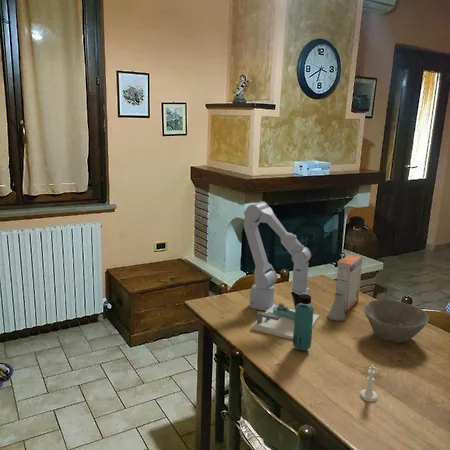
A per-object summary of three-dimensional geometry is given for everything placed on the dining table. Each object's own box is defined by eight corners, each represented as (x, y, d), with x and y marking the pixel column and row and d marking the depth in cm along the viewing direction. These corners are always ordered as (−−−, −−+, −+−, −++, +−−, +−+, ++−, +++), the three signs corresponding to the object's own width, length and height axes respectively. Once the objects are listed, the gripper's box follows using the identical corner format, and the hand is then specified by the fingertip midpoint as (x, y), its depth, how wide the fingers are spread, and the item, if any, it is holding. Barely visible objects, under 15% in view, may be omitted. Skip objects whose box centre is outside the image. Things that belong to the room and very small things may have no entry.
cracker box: (345, 297, 196) (349, 253, 191) (358, 301, 193) (363, 255, 188) (333, 308, 185) (337, 261, 180) (347, 312, 182) (351, 264, 177)
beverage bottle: (312, 346, 155) (316, 293, 150) (309, 356, 149) (313, 300, 144) (293, 343, 157) (297, 290, 152) (290, 352, 151) (293, 297, 146)
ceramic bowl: (426, 330, 169) (429, 306, 166) (424, 359, 148) (428, 332, 146) (365, 318, 177) (368, 295, 175) (356, 344, 157) (359, 318, 155)
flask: (344, 314, 181) (346, 291, 178) (347, 322, 174) (349, 298, 171) (326, 312, 181) (328, 290, 179) (328, 320, 174) (330, 297, 172)
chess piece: (357, 391, 130) (360, 361, 128) (373, 390, 131) (377, 360, 128) (363, 402, 126) (367, 370, 123) (380, 401, 126) (384, 370, 123)
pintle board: (251, 329, 166) (251, 316, 165) (272, 307, 185) (272, 295, 184) (302, 342, 157) (303, 328, 156) (319, 317, 177) (320, 305, 175)
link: (270, 312, 177) (270, 308, 177) (279, 308, 181) (279, 304, 181) (305, 327, 165) (306, 323, 165) (314, 322, 170) (315, 318, 169)
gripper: (316, 284, 168) (313, 317, 171) (304, 271, 182) (301, 302, 185) (298, 285, 167) (296, 318, 170) (287, 272, 181) (285, 302, 184)
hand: (298, 310), depth 178 cm, fingers closed
